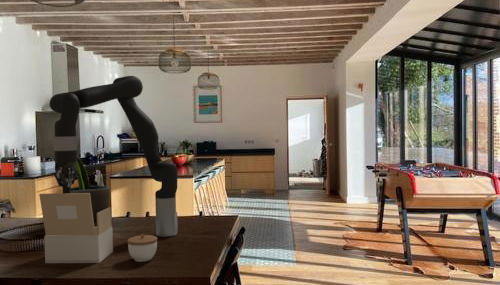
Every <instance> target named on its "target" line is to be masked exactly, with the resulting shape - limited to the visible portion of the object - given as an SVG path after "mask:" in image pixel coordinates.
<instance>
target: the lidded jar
mask: <svg viewBox="0 0 500 285" xmlns="http://www.w3.org/2000/svg"><path fill="white" fill-rule="evenodd" d="M157 248H158V236H157V235H152V234H151V235H150V234H147V235H146V234H144V233H141V234H140V235H134V236H132V237H130V238H128V239H127V249H128V250H127V251H128V253H129V256H130V257H131V258H132V259H133V260H134V261H135V262H138V263H139V262H140V263H142V262H143V263H144V262H147V261H148V262H149V261H151V260H152V258H153V257H154V256H155V255H156V252H157V250H158V249H157Z"/></svg>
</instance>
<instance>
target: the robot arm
mask: <svg viewBox="0 0 500 285" xmlns="http://www.w3.org/2000/svg"><path fill="white" fill-rule="evenodd" d="M143 87H144V86H143V82H142V80H141V79H140V78H139V77H137V76H135V75H126V76H121V77H117V78H115V79H114V80H113V82H112V83H108V84H102V85H96V86H90V87H89V86H88V87H85V88H81V89H78V90H75V91H74V90H73V91H68V92H60V93H56V94H54V95H52V96H51V98H50V99H49V108H50V109H51V111H53V112H54V113H57V114H60V117H59V118H60V119H59V120H56V121H55V122H54V144H53V150H54V151H53V152H54V155H53V157H54V163H56V164H58V166H57V170H58V171H57V172H54V174H53V175H54V178H55V180H56V183H57V184H58V186H59V187H61V188H62V193H71V188H72V186H73V185H75V181H76V178H77V170H76V169H75V167H74V164H73V163H75V162H77V155H78V141H77V126H76V125H77V122H78V119H79V113H80V110H81V109H87V108H90V107H94V106H97V105H100V104H104V103H108V102H111V101H114V100H117V101H118V103H119V105H120V106H121V108H122V111H123V112H124V115H125V116H126V118H127V120H128V122H129V124H130V126H131V128H132V131H133V133H134V136H135V137H136V140H137V142H138V144H139V146H140V149H141V150H142V153H143V156H144V158H145V161H146V163H147V167H148V169H149V172H150V176H151V177H152V179H153V180H154V181H156V182H157V183H159V182H160V183H161V187H160V188H159V189H158V190H156V191H155V193H154V195H155V197H154V199H155V201H154V202H155V204H154V205H155V232H156V233H155V236H156V237H173V236H176V235H177V234H178V230H179V229H178V228H179V227H178V212H177V200H176V196H177V190H178V178H179V177H178V175H179V174H178V168H177V166H176V164H175V163H174V162H169V161H168V162H165V161H163V160H162V158H161V156H160V153H159V150H158V149H159V148H158V146H159V133H158V130H157V128H156V126H155V124H154V122H153V120H152V119H151V118H150V117H149V115H148V114H146V113H145V112H144V111H143V110H142V109H141V108H140V107H139V106H138V104H137V103H136V101H135V98H137V97H139V96H140V95H141V94H142V92H143V90H144V89H143Z"/></svg>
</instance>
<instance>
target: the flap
mask: <svg viewBox="0 0 500 285" xmlns="http://www.w3.org/2000/svg"><path fill="white" fill-rule="evenodd" d="M38 195H39V200H40V201H39V202H40V208H41V214H42V219H43V226H44V232H45V235H46V236H51V235H95V228H94V220H93V213H92V205H91V197H90V193H63V192H62V193H58V192H57V193H56V192H55V193H39V194H38Z"/></svg>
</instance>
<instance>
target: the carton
mask: <svg viewBox="0 0 500 285" xmlns="http://www.w3.org/2000/svg"><path fill="white" fill-rule="evenodd" d="M94 228H95V235H51V236H46V234H45V235H44V240H43V241H44V260H45V261H44V263H45V264H94V263H95V264H98V263H101V262H102V261H103V260H104V259H106V258H107V257H108V256H110V255H111V254H112V253H113V252H114V238H113V237H114V236H113V232H114V231H113V226H112V206H109V207H108V208H106V209H104V210H102V211H100V212H98V213H97V226H94Z"/></svg>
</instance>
